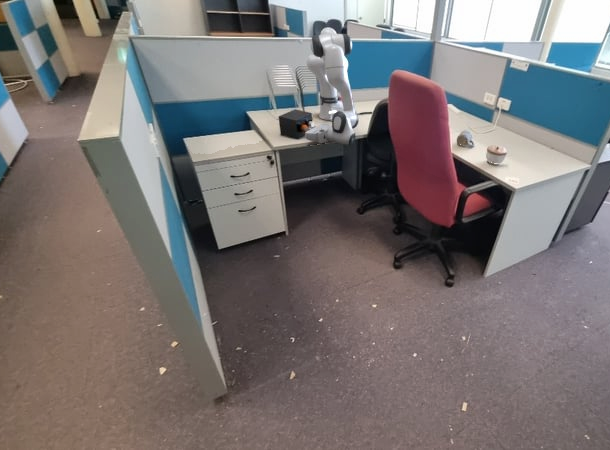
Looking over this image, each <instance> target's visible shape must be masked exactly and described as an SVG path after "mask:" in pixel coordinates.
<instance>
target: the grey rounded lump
mask: <svg viewBox="0 0 610 450" xmlns="http://www.w3.org/2000/svg"><path fill="white" fill-rule="evenodd" d="M472 139H473V134H472V132H470V131H469V130H463V131H461V132H460V133H459V134H458V136H457V137H456V143H457V145H459V144H461V145H459V146H460V147H464V146H463V145H465V146H467V147H468V148H474V146H475V142H474V141H473V140H472ZM471 143H472V144H471Z"/></svg>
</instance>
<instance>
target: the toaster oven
mask: <svg viewBox="0 0 610 450" xmlns="http://www.w3.org/2000/svg"><path fill="white" fill-rule="evenodd" d="M277 118H278V125H279V132H280V133H279V134H280V136H283V137H288V138H291V139H296V140H299V139H301V138H302V137H305V132H307V130H306V131H304V130H302V125H307V127H309V125H308V124H309V122H310V121H311V122H313V114H312V112H310V111H304V110H301V109H300V110H299V109H292V110H290V111H288V112H285V113H283V114H281V115H278V117H277Z"/></svg>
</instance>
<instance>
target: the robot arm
mask: <svg viewBox="0 0 610 450" xmlns="http://www.w3.org/2000/svg"><path fill="white" fill-rule="evenodd" d="M310 50H311V52H312V54H310V55H309V56H308V57H307V59H306V66H307V69H308V70H309V72H310V73H312V74H313V75H314V76H315V78H316V79H317V81H318V85H319V92H320V93H319V94H320V95H319V105H320V107H319V114H318V118H320V119H322V120H326V121H331V123H328V122H322V123H320V124H318V125H316V126H313V127H310V126H309V127H307V128H306V130H307V132H305V135H304V137H305V139H306V140H307V141H310V142H311V141H312V142H315V143H318V144H323V143H324V144H325V143H336V144H337V145H341V146H351V145H353V144H354V142H355V140H356V133H355V131H354V129H355V128H356V127H357V126H358V125H359V121H360V119H359V118H360V117H359V115H364V114H366V115H367V114H373V113H372V112H373V111H364V112H363V111H362V112H359V113H357V110H356V108H355V103H354V98H353V97H354V96H353V92H352V88H351V84H350V80H349V76H348V69H349V61H348V59H347V56H349V55H350V54H351V53H352V50H353V41H352V39H351V36H350V35H349V34H346V33H337V31H336V30H335V29H334V28H332V27H324V28H323V29H322V30H321V31H320V34H316V35H315V34H314V35H313V36H312V37H311V39H310ZM338 93H339V95H340V96H339V95H338Z"/></svg>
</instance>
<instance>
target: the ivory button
mask: <svg viewBox="0 0 610 450" xmlns="http://www.w3.org/2000/svg"><path fill="white" fill-rule="evenodd" d="M308 125H309V126H310V127H315V122H314V121H312V122H311V121H310V122H309V124H308Z"/></svg>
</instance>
